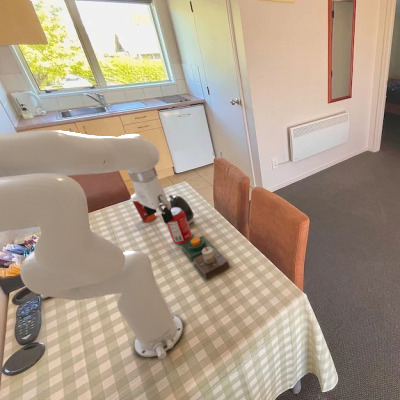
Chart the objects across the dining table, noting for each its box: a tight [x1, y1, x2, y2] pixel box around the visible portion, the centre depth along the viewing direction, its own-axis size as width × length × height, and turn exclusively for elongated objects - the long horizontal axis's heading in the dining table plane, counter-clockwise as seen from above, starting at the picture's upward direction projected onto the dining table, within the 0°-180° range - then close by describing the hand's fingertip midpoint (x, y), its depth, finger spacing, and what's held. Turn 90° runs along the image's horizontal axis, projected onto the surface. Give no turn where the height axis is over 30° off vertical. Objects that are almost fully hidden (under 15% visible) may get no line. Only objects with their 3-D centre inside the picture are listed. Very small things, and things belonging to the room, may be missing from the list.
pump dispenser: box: [169, 194, 195, 226], centre depth 125 cm, size 10×10×15 cm
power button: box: [190, 237, 201, 246], centre depth 110 cm, size 4×4×2 cm
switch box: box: [181, 235, 214, 262], centre depth 111 cm, size 10×9×4 cm
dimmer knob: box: [202, 247, 216, 264], centre depth 101 cm, size 4×4×5 cm
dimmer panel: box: [193, 247, 230, 280], centre depth 103 cm, size 11×9×3 cm
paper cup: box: [130, 192, 156, 223], centre depth 129 cm, size 8×8×14 cm
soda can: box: [165, 207, 193, 245], centre depth 115 cm, size 8×8×15 cm
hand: (160, 217), depth 94 cm, fingers open, 9 cm apart
